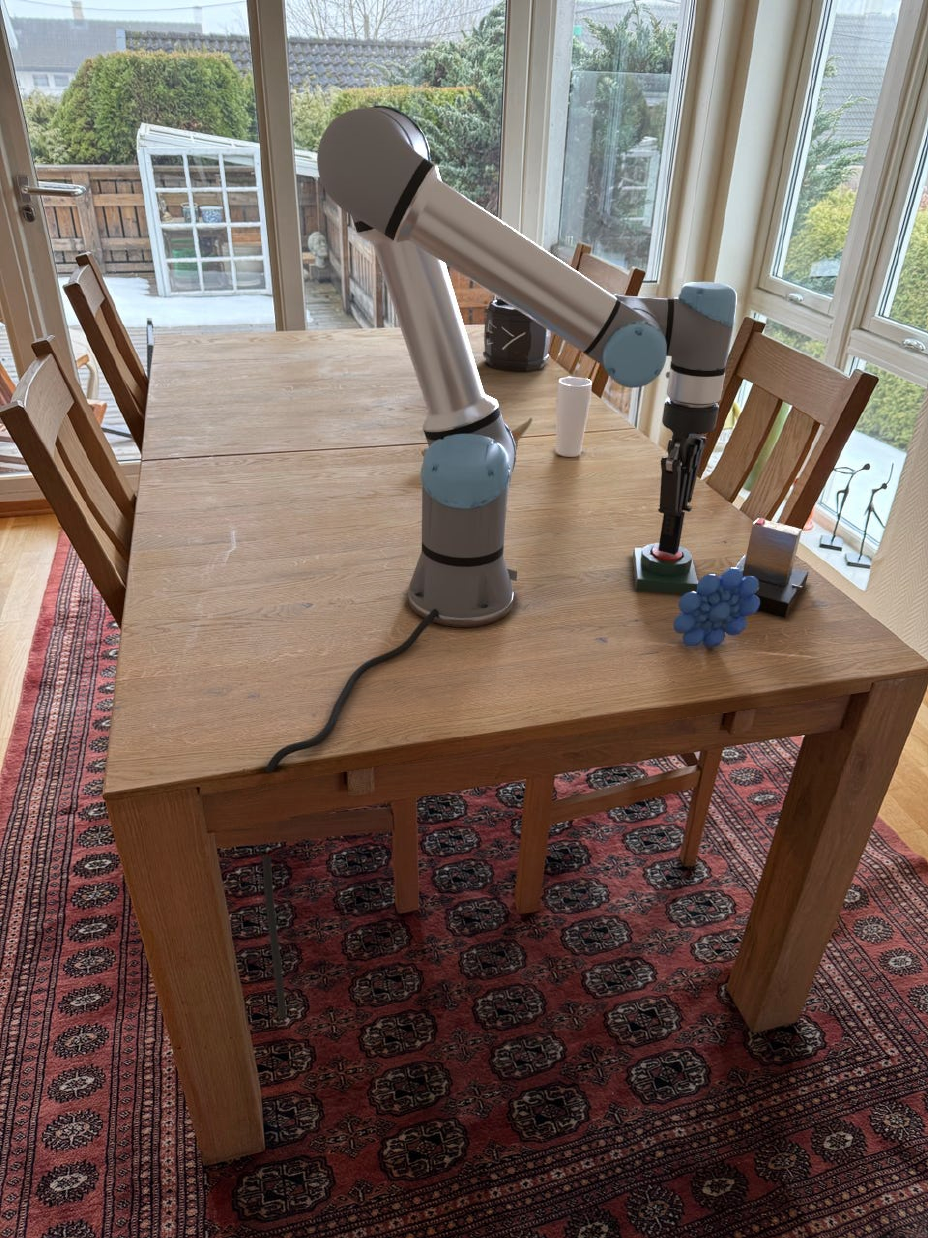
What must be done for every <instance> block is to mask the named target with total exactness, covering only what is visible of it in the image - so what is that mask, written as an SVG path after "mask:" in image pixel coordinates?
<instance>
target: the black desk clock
mask: <svg viewBox="0 0 928 1238" xmlns="http://www.w3.org/2000/svg"><path fill="white" fill-rule="evenodd" d="M484 309H485V310H484V313H485V314H486V316H485V321H484V322H485V323H484V330H483V331H484V332H483V344H484V351H483V352H482V357H484V358H485V361H486V364H488V365H489V366H490V367H491V368H493V369H497V370H502V371H506V372H531V371H539V370H541V369H542V368H543V367H544V366H545V365H546V362H547V361H549V358H550V354H549V351H550V344H551V338H552V337H551V336H552V332H551V331H549V330H548V329H546V328H544V327H543V326H541V325H540V324H538V323H537V322H535V321H534V320H532V319H530V318H529V317H527V316H526V315H524V314H523V313H521V312H520V311H518V310H517V309H515V308H513V307H512V306H510V305H509V304H507V303H506V302H504V301H503V300H501V299H500V298H496V299H492V300H491V301H490V302H489V304H488V306H487V307H486V308H484Z"/></svg>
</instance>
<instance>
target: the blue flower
mask: <svg viewBox="0 0 928 1238" xmlns="http://www.w3.org/2000/svg"><path fill="white" fill-rule="evenodd" d="M697 582H698V584H697V592H693V591H692V592H689V593H686V594H682V596H681V597H680V598H679V601H678V609H679V611H680V613H679V614H678V615H676V617H675V618H674V619H673V623H672V625H673V630H674V631H675V633H676V634H682V642H683V644H685V646H686V647H689V648H693V647H697V646H699V645H700V644H701V643H702V644H703V645H704V646H705V647H706V648H716V647H718V646H721V644H722V643H723V642H724V641H725V638H726V635H727V636H738V635H740V634H741V633H743V631H744V630H746V627H747V624H748V621H747V617H749V616H752V615H754V614H755V613H756V612H757V611H759V610H758V608H759V605H760V600H759V598H758V597H757V596H756V595H754V594H755V593H756V592H757V589H758V586H759V583H758V580H757V579H756V578H755V577H753V576H747V577H744V578H743V573H742V571H741V570H740V569H738V568H735V567H733V568H731V567H730V568H728V569H726V570H725V571H723V572H722V573H721V575H720V577H719V575H717V574H714V573H709V574H706V575H705V574H704V575H703V576H702V577H701V578H700V579H699V580H698V581H697Z"/></svg>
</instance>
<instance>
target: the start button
mask: <svg viewBox="0 0 928 1238" xmlns="http://www.w3.org/2000/svg"><path fill="white" fill-rule="evenodd" d="M658 548H659V546H657V547H654V548H653V549H652V554H651V555H652V556H653V557H655V558H657V559H660V560H663V561H678V560H681V559H682V552H681V551H680V550H678V552H677V553H676V554H675V555H674V554H670V553H667V552H663V551H659V550H658Z"/></svg>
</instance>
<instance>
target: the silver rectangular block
mask: <svg viewBox="0 0 928 1238" xmlns="http://www.w3.org/2000/svg"><path fill="white" fill-rule="evenodd" d="M802 532H803V529H802V528H799V527H795V526H791V525H786V524H783V523H779V522H775V521H771V520H768V519H767V518H764V517H757V519H756V520H755V521H754V522H753V524H752V527H751V532H750V536H749V541H748V545H747V550H746V554H745V555H746V559H745V564H744V568H743V575H744V576H753V577H755V578H756V579H758V580H762V581H766V582H769V583H773V584H776V585H780V586H783V587H785V586H786V584H787V583H788V582H789V580H790V576H791V572H792V568H794V564H795V560H796V555H797V552H798V548H799V543H800V540H801V536H802Z"/></svg>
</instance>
